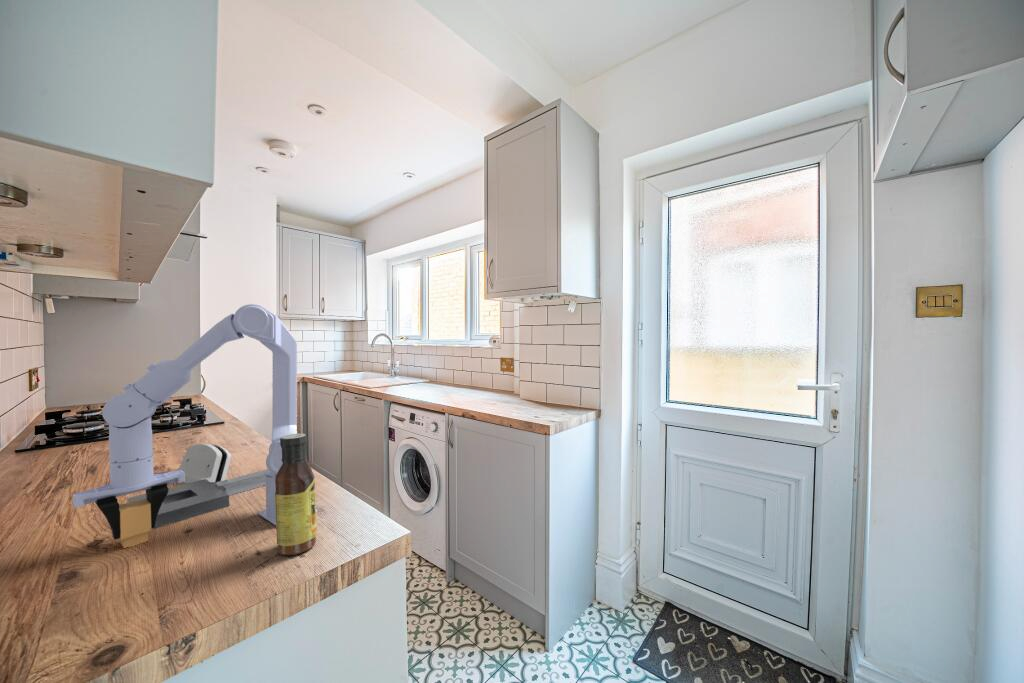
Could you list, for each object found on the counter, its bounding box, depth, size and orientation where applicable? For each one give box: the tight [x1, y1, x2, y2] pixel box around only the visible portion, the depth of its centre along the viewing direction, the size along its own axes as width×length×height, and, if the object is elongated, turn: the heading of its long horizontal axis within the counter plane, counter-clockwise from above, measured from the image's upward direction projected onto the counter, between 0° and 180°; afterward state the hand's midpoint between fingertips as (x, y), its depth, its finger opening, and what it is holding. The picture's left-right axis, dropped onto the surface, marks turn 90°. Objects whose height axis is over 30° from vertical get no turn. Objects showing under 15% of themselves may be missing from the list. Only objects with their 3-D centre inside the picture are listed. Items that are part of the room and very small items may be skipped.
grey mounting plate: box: [126, 469, 267, 529], centre depth 91 cm, size 16×27×3 cm, turn 143°
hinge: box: [172, 443, 232, 484], centre depth 105 cm, size 17×5×10 cm, turn 63°
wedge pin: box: [119, 498, 152, 549], centre depth 72 cm, size 4×4×7 cm
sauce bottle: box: [275, 433, 318, 556], centre depth 70 cm, size 7×6×20 cm
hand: (134, 532), depth 72 cm, fingers closed on wedge pin, 4 cm apart
